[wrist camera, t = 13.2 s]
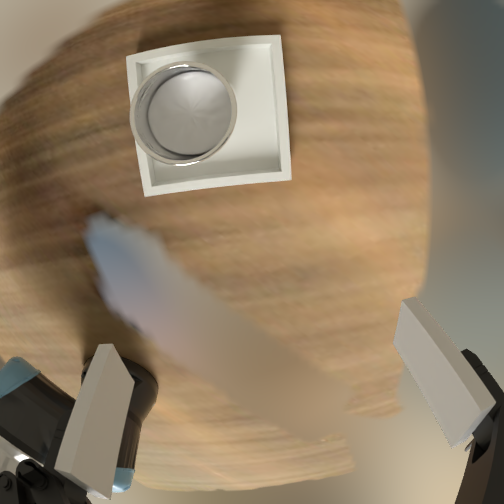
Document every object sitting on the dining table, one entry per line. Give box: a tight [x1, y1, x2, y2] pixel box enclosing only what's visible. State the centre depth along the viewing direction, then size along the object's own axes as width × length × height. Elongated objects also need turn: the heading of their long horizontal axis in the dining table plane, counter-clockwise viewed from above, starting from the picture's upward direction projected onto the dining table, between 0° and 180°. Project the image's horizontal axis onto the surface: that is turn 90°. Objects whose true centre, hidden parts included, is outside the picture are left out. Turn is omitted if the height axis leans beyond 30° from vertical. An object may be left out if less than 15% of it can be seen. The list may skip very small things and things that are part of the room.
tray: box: [126, 35, 291, 197], centre depth 28 cm, size 16×16×3 cm
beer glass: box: [130, 61, 239, 166], centre depth 22 cm, size 7×7×15 cm
